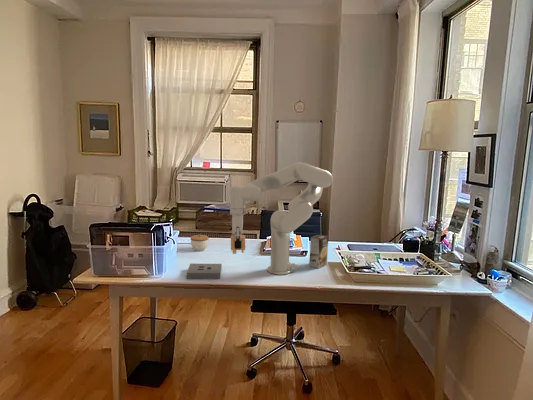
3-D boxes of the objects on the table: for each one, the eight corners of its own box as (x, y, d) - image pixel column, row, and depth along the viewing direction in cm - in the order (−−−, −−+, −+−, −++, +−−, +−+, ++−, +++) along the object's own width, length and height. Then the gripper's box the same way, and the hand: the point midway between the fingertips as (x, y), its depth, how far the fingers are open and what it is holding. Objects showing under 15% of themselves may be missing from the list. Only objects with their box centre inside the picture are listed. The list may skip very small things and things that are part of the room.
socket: (221, 269, 204) (221, 263, 203) (220, 279, 190) (220, 273, 190) (190, 269, 203) (190, 263, 202) (186, 278, 189) (186, 273, 189)
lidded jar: (187, 251, 233) (187, 235, 232) (194, 246, 244) (194, 231, 242) (204, 252, 231) (204, 237, 230) (211, 247, 241) (211, 233, 240)
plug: (245, 250, 199) (245, 235, 198) (245, 254, 193) (245, 238, 192) (231, 250, 199) (231, 235, 197) (230, 254, 193) (230, 238, 191)
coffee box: (319, 268, 208) (320, 239, 206) (308, 266, 212) (310, 237, 209) (327, 264, 216) (328, 236, 213) (316, 262, 220) (318, 234, 217)
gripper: (230, 207, 200) (231, 241, 204) (229, 214, 183) (230, 251, 187) (245, 207, 201) (245, 241, 204) (245, 214, 184) (245, 251, 187)
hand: (238, 246), depth 195 cm, fingers closed on plug, 6 cm apart
